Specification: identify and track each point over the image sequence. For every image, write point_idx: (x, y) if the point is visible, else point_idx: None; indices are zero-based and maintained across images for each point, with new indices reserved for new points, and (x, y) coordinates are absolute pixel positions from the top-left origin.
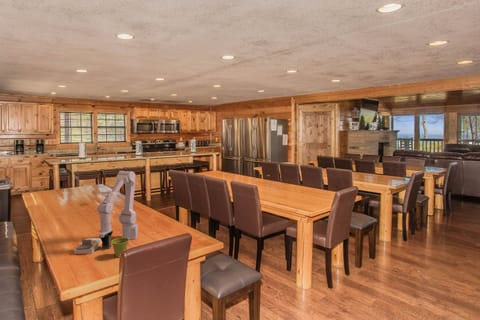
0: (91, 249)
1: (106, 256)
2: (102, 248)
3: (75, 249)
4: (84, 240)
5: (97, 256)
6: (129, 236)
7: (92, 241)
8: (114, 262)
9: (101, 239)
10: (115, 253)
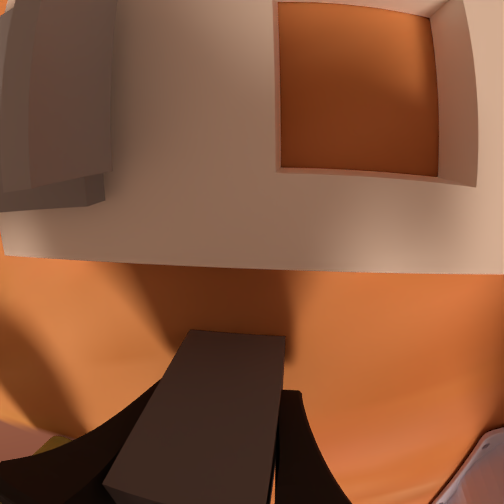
0: (6, 244)
1: (33, 384)
2: (188, 336)
3: (11, 7)
4: (20, 5)
5: (10, 314)
6: (460, 499)
7: (464, 83)
8: (2, 417)
9: (58, 454)
10: (36, 451)
